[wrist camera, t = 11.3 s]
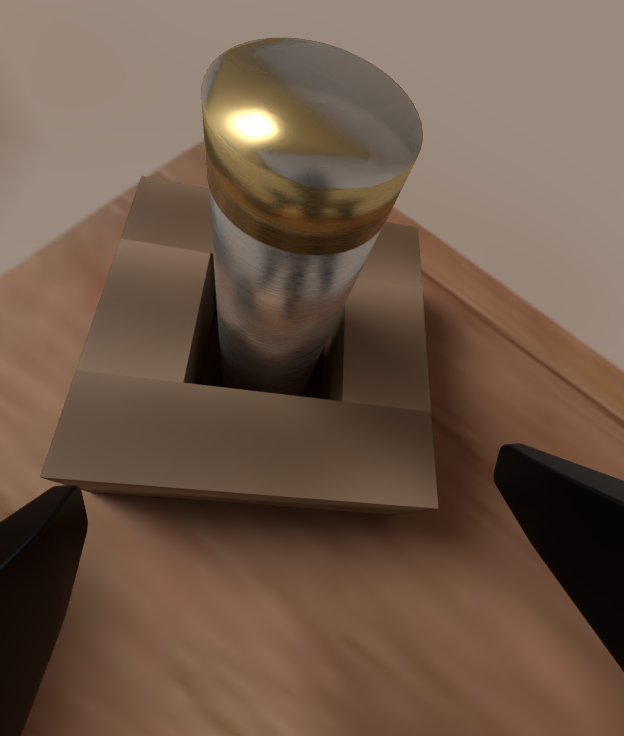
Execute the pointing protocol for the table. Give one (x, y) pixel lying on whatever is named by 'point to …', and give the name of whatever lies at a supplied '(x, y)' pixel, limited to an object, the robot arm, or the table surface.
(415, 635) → the table surface
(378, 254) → the block
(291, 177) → the steel pin
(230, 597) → the table surface
